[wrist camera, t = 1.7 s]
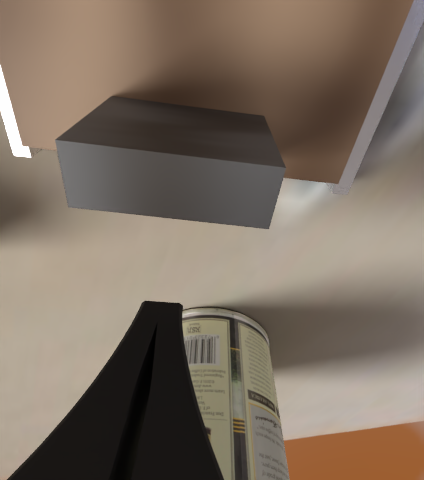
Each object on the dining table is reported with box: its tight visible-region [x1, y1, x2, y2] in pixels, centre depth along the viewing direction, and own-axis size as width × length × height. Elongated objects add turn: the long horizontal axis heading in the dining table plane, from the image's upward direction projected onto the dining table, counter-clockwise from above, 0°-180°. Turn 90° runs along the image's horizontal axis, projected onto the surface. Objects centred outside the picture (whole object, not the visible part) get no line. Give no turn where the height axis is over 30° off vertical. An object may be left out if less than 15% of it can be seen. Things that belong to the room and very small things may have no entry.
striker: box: [0, 0, 414, 229], centre depth 10 cm, size 14×8×7 cm, turn 83°
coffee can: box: [182, 308, 289, 480], centre depth 20 cm, size 10×10×14 cm
